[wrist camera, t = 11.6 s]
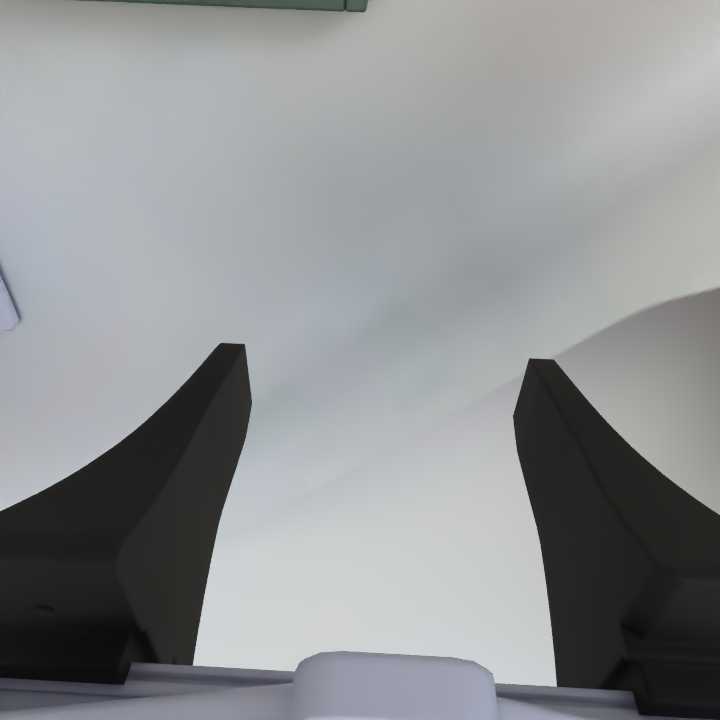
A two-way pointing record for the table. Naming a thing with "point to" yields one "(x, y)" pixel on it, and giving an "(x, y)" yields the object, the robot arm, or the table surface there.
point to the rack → (267, 4)
